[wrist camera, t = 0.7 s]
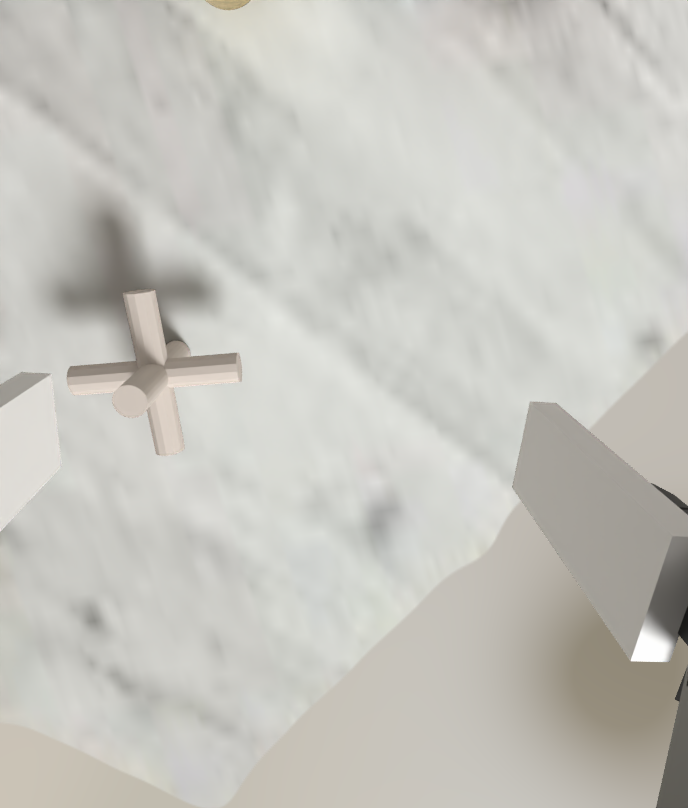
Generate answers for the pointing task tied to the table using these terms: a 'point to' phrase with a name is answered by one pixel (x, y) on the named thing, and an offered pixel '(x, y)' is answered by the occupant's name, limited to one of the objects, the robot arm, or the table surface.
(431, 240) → the table surface
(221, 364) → the pipe connector
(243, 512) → the table surface
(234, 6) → the brass cylinder
